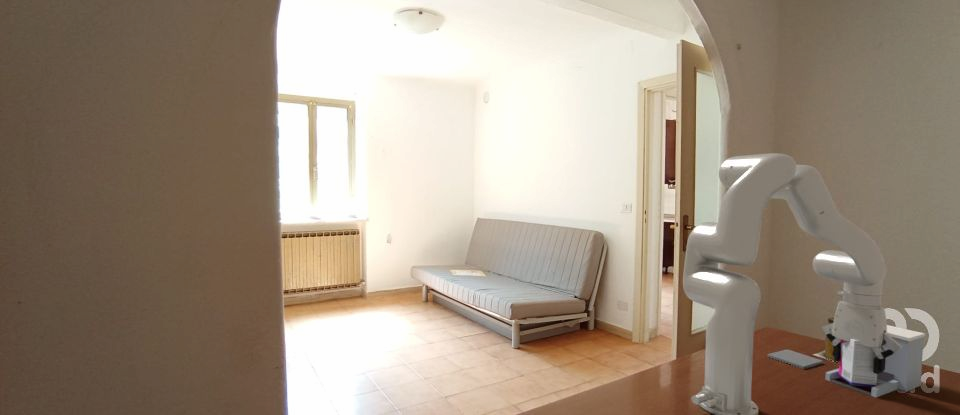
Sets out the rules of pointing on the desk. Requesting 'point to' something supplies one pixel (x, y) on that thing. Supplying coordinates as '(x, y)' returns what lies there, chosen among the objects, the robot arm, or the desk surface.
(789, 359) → the coaster
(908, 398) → the desk surface
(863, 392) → the bar
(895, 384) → the dispenser
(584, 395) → the desk surface
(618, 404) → the desk surface
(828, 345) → the condiment
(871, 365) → the supplement box
